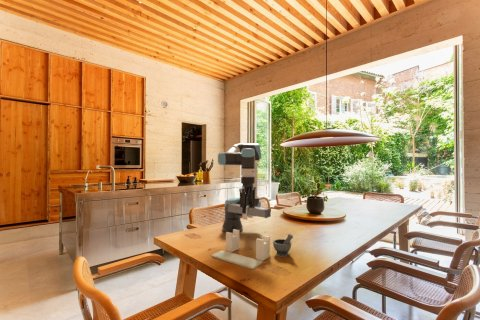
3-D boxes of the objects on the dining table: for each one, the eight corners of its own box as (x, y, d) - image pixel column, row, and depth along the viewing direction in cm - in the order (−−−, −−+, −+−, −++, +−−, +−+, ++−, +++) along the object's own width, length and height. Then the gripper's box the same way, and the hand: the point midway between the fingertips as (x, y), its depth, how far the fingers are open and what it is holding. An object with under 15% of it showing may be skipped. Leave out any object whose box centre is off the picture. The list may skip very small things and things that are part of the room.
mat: (211, 256, 129) (211, 255, 129) (222, 251, 136) (222, 250, 136) (252, 269, 114) (252, 267, 114) (262, 262, 121) (262, 261, 121)
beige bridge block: (225, 250, 137) (226, 232, 137) (233, 246, 144) (234, 229, 144) (231, 252, 135) (231, 233, 135) (239, 248, 141) (239, 230, 141)
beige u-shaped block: (256, 259, 126) (256, 238, 126) (263, 254, 132) (263, 235, 132) (262, 260, 124) (262, 240, 124) (269, 256, 130) (269, 236, 130)
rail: (226, 211, 139) (226, 204, 139) (231, 210, 143) (231, 202, 143) (266, 218, 125) (266, 209, 125) (270, 216, 129) (270, 208, 129)
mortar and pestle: (269, 254, 132) (270, 232, 132) (278, 249, 139) (278, 229, 139) (288, 260, 125) (288, 236, 125) (296, 254, 132) (296, 232, 132)
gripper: (244, 177, 125) (244, 222, 125) (261, 175, 139) (261, 216, 139) (232, 176, 129) (232, 220, 129) (250, 175, 143) (250, 214, 143)
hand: (247, 218), depth 134 cm, fingers closed on rail, 4 cm apart
